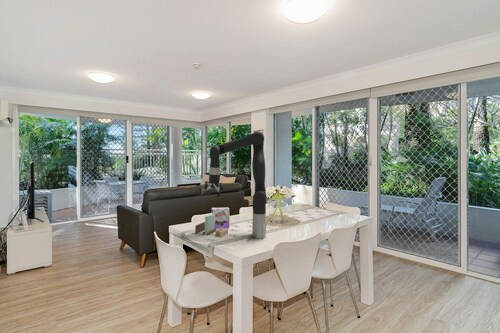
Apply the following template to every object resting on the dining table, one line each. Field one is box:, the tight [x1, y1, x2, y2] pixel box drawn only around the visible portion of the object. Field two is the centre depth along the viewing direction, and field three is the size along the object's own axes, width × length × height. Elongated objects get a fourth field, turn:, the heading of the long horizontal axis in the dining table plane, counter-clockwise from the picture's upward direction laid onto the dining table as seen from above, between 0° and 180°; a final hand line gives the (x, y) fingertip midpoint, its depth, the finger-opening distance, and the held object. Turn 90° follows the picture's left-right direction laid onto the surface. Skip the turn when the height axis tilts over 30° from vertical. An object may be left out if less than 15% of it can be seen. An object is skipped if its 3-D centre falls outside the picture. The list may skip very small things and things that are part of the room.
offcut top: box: [214, 228, 229, 234], centre depth 200 cm, size 5×10×2 cm, turn 160°
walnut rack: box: [194, 221, 217, 236], centre depth 204 cm, size 10×12×7 cm
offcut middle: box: [215, 230, 229, 238], centre depth 200 cm, size 5×10×2 cm, turn 160°
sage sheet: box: [204, 213, 215, 236], centre depth 203 cm, size 2×11×14 cm, turn 160°
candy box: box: [211, 207, 231, 230], centre depth 219 cm, size 14×6×16 cm, turn 101°
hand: (213, 196), depth 203 cm, fingers open, 8 cm apart
